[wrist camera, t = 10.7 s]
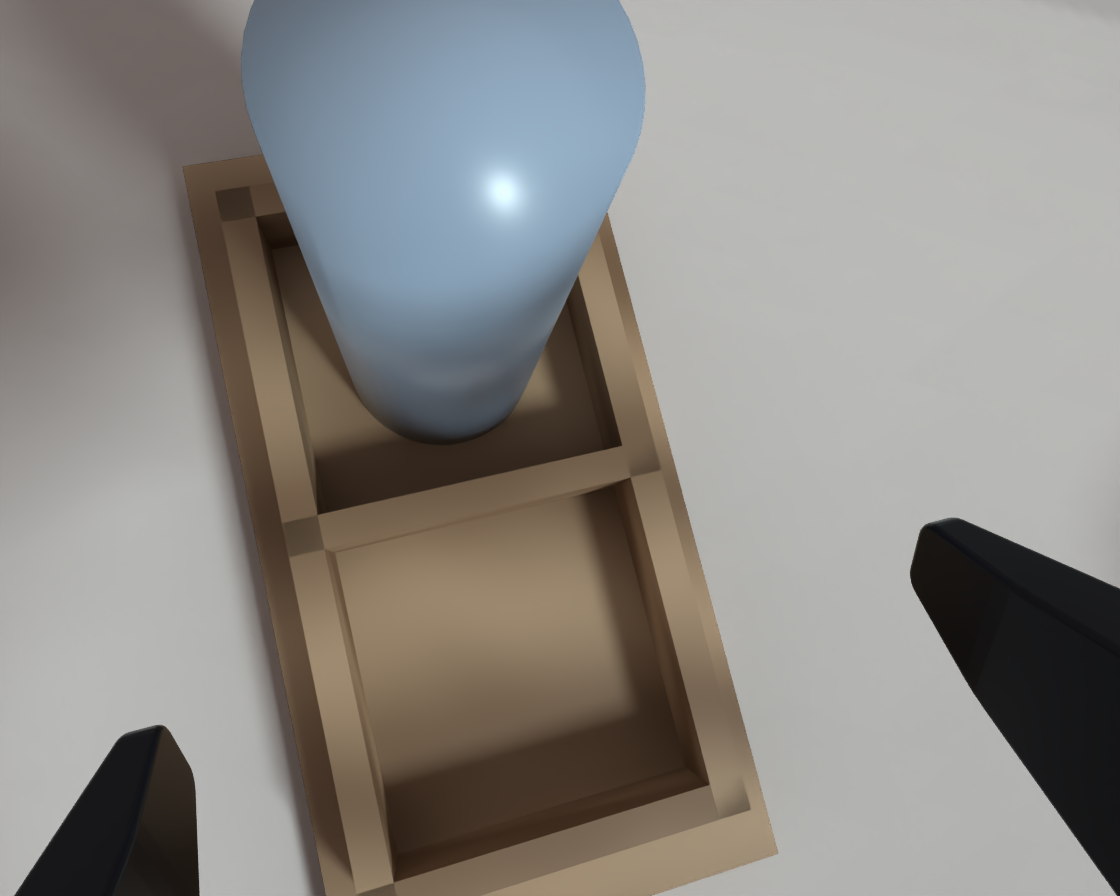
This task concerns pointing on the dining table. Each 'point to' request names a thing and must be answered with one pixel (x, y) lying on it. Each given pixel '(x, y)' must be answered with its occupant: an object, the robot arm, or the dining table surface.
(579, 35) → the blue-grey round cylinder
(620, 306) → the wooden compartment tray
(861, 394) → the dining table surface
